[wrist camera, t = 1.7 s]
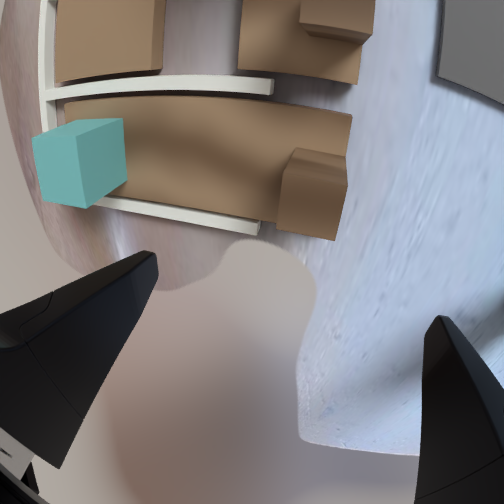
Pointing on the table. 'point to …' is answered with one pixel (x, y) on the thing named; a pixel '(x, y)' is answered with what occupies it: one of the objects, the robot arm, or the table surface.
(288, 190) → the strip
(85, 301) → the robot arm
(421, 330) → the table surface
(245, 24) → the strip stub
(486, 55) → the coaster
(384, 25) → the table surface
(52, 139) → the cube
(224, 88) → the board
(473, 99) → the table surface
